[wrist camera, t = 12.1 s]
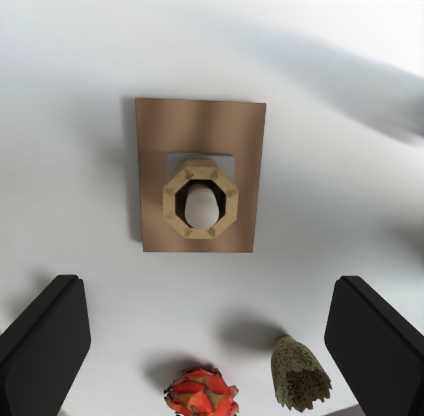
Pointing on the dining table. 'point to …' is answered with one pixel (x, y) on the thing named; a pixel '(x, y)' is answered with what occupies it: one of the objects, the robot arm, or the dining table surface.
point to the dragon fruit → (202, 394)
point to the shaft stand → (198, 149)
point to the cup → (297, 375)
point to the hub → (176, 206)
